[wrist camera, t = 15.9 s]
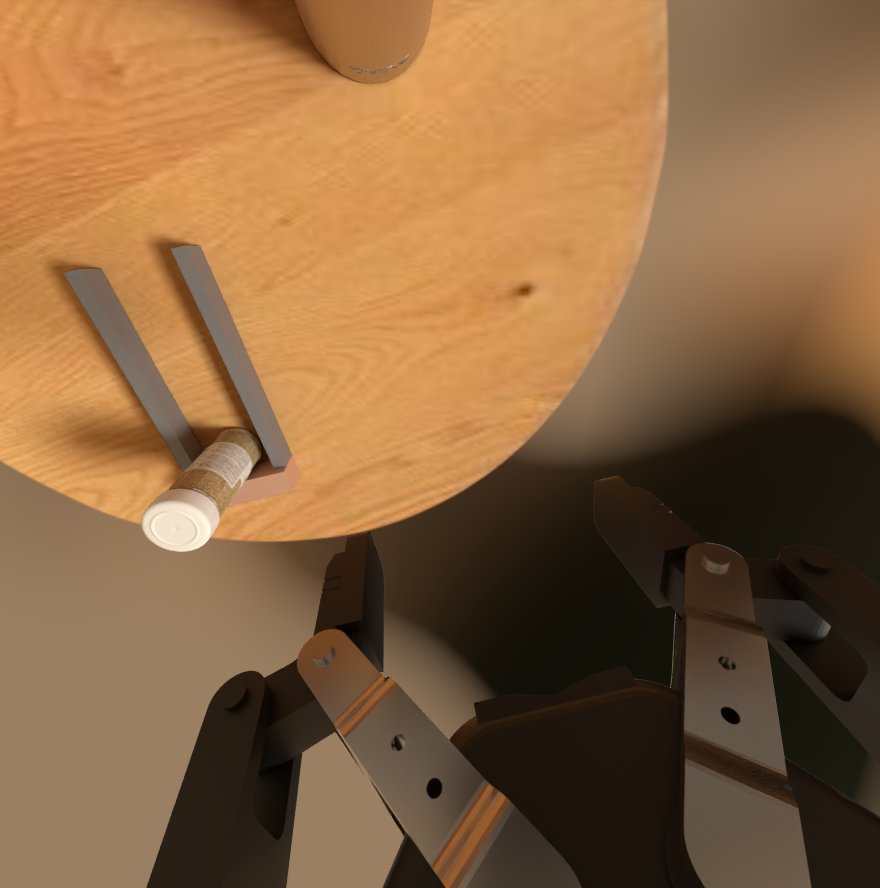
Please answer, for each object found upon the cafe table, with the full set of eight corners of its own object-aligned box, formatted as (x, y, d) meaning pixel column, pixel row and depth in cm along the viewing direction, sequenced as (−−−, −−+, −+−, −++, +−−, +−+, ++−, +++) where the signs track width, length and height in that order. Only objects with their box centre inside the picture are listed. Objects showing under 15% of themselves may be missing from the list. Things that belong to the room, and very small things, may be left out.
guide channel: (86, 271, 31) (52, 273, 28) (200, 246, 31) (179, 244, 28) (215, 494, 41) (200, 513, 38) (300, 474, 41) (293, 491, 38)
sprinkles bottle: (240, 473, 40) (177, 564, 28) (205, 442, 38) (122, 525, 26) (273, 450, 39) (223, 533, 27) (240, 417, 38) (170, 491, 26)
